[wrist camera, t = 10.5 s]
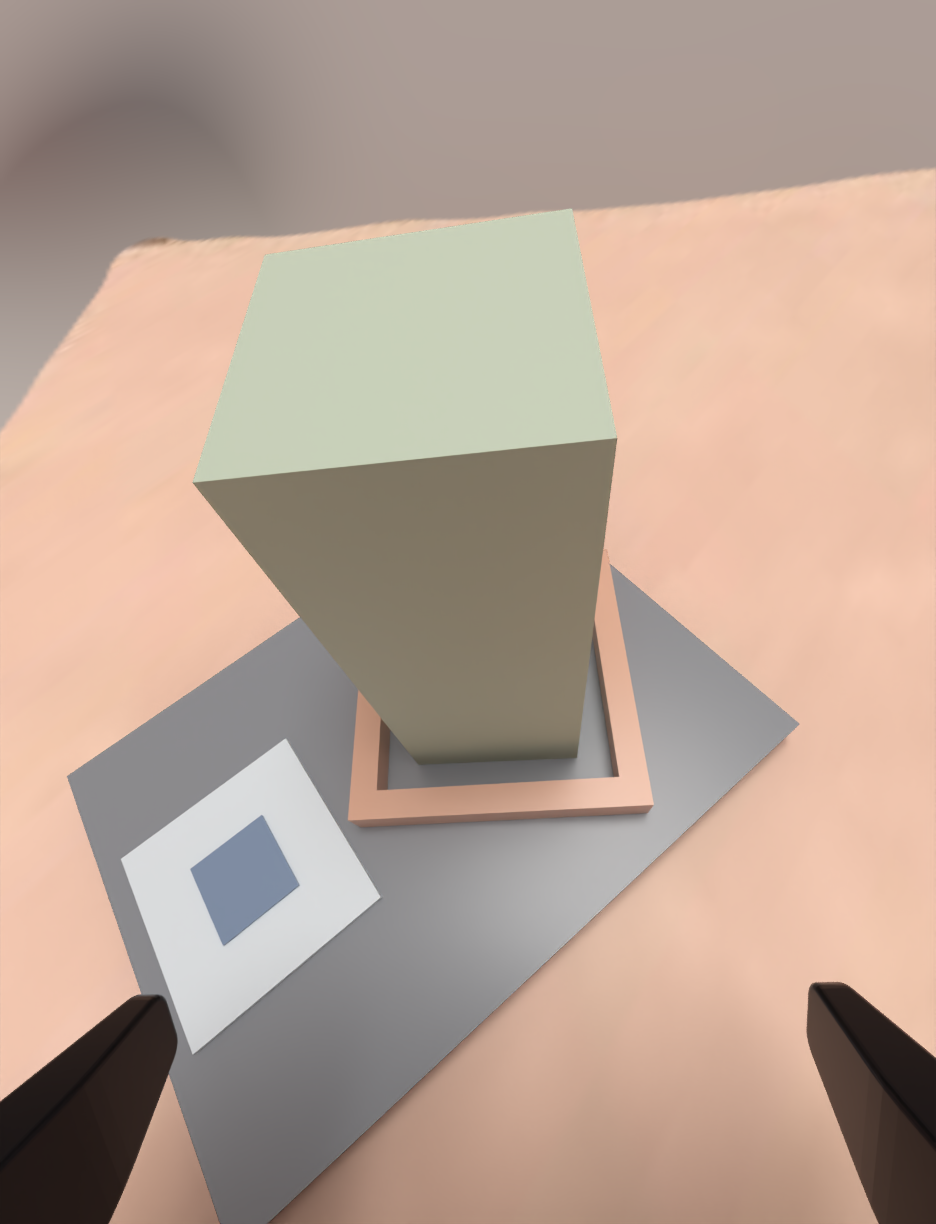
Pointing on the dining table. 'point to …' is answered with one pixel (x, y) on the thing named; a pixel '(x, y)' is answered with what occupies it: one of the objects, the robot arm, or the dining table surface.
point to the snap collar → (522, 798)
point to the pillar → (430, 474)
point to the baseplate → (367, 886)
